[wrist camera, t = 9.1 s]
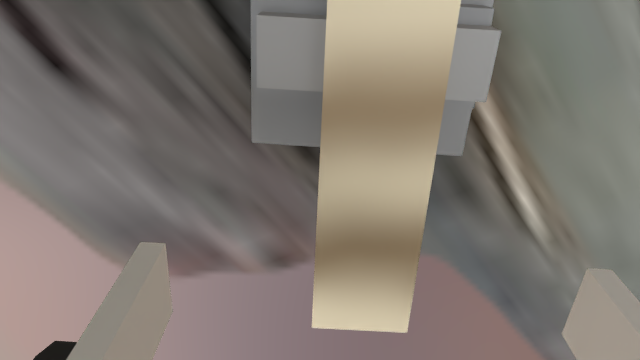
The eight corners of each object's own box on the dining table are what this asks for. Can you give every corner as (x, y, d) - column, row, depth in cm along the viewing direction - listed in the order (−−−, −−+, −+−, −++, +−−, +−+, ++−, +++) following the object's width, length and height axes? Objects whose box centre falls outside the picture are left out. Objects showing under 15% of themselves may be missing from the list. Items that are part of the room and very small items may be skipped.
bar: (339, -242, 16) (342, -321, 11) (460, -236, 16) (512, -313, 11) (315, 258, 24) (311, 328, 20) (393, 262, 24) (406, 332, 20)
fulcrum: (254, -100, 23) (229, -116, 17) (503, -84, 23) (556, -95, 17) (254, 135, 28) (235, 179, 22) (457, 148, 28) (487, 195, 22)
